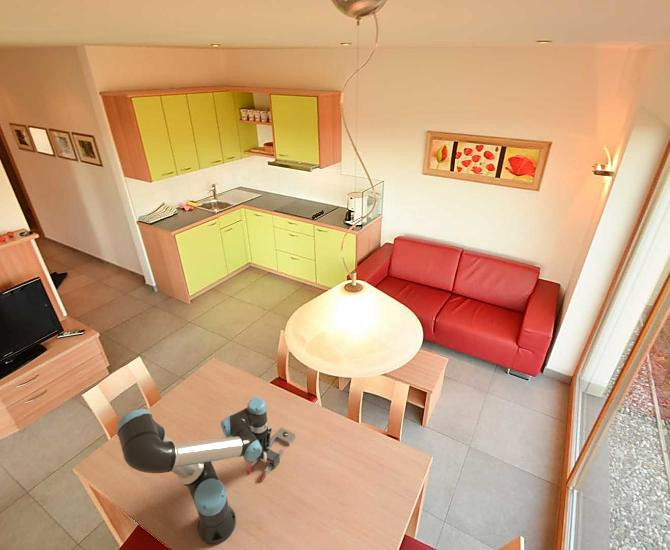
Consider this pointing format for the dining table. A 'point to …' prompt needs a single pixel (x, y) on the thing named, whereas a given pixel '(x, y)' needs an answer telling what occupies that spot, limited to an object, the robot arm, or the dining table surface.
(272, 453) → the grey rectangular block
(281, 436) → the base
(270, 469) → the red-tipped stick
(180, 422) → the dining table surface
